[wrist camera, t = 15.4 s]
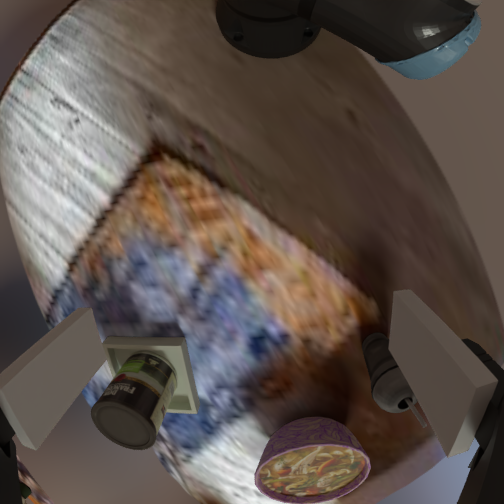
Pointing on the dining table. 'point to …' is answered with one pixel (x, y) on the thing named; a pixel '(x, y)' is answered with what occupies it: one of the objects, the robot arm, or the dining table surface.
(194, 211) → the dining table surface
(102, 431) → the coffee can
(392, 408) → the beverage cup
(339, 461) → the bowl of food
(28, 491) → the character mug
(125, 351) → the tray
